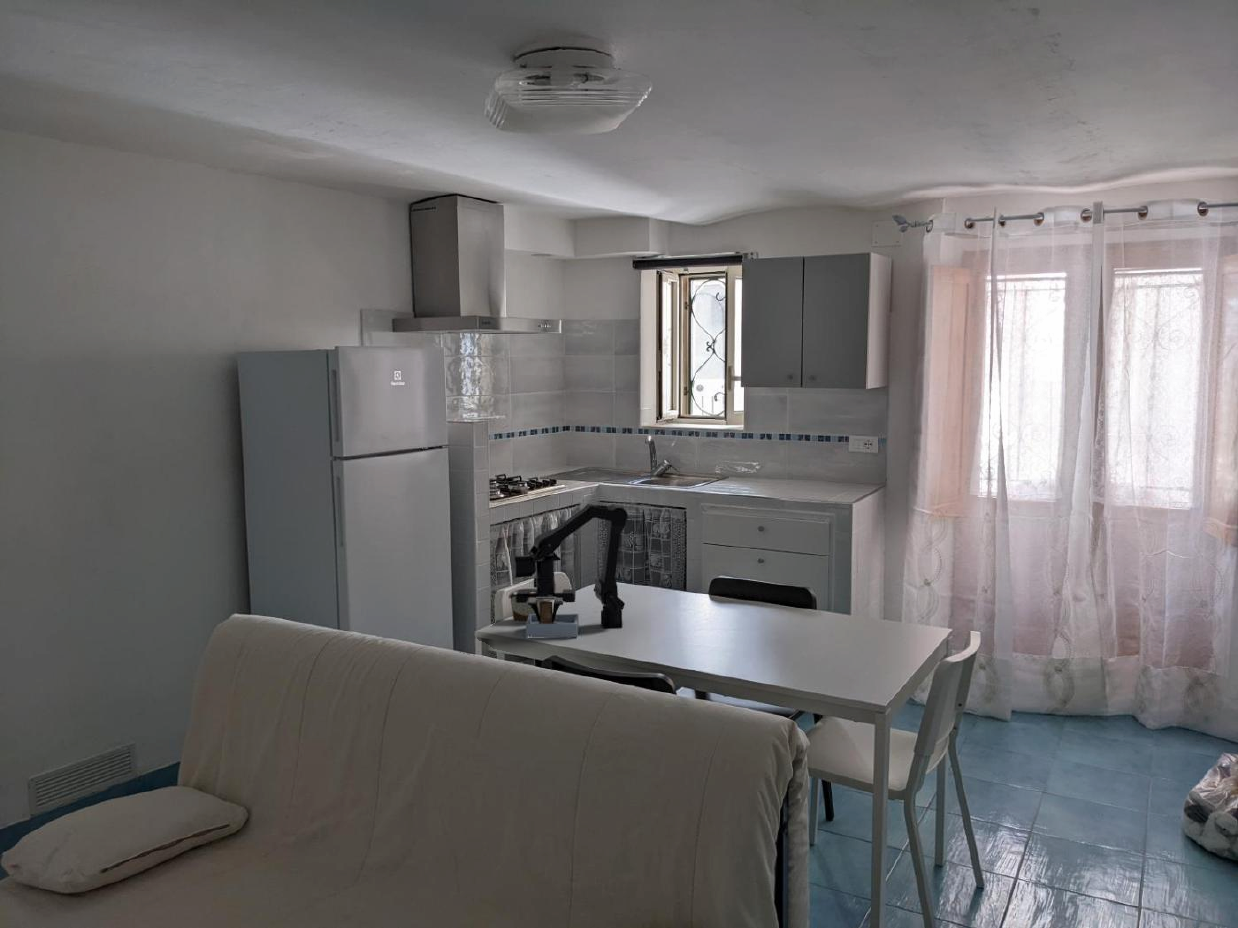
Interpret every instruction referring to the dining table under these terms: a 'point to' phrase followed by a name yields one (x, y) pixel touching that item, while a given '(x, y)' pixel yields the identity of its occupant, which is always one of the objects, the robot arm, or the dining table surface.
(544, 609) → the peg
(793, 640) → the dining table surface
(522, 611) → the food container
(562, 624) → the box
